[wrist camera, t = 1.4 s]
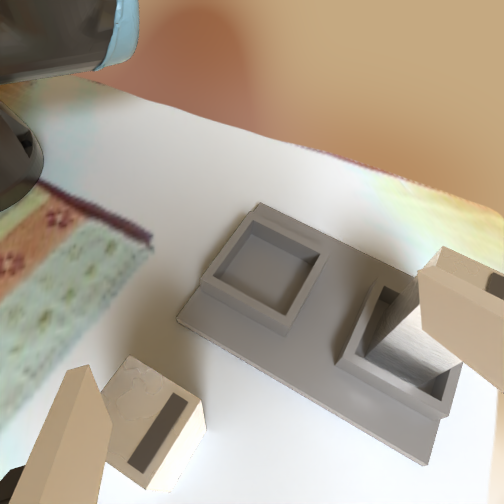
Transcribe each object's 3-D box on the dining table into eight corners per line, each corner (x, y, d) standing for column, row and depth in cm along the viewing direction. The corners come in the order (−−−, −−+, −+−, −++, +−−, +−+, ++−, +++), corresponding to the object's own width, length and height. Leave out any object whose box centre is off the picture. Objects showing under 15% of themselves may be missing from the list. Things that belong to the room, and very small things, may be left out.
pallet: (176, 321, 37) (173, 306, 34) (259, 207, 45) (262, 187, 42) (422, 466, 32) (442, 462, 29) (466, 309, 40) (486, 294, 37)
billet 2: (364, 357, 36) (424, 299, 25) (382, 313, 38) (444, 243, 28) (417, 386, 34) (503, 338, 24) (432, 339, 37) (517, 276, 27)
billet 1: (117, 455, 31) (66, 434, 21) (156, 398, 33) (128, 352, 23) (170, 492, 30) (144, 489, 20) (206, 430, 32) (200, 398, 22)
